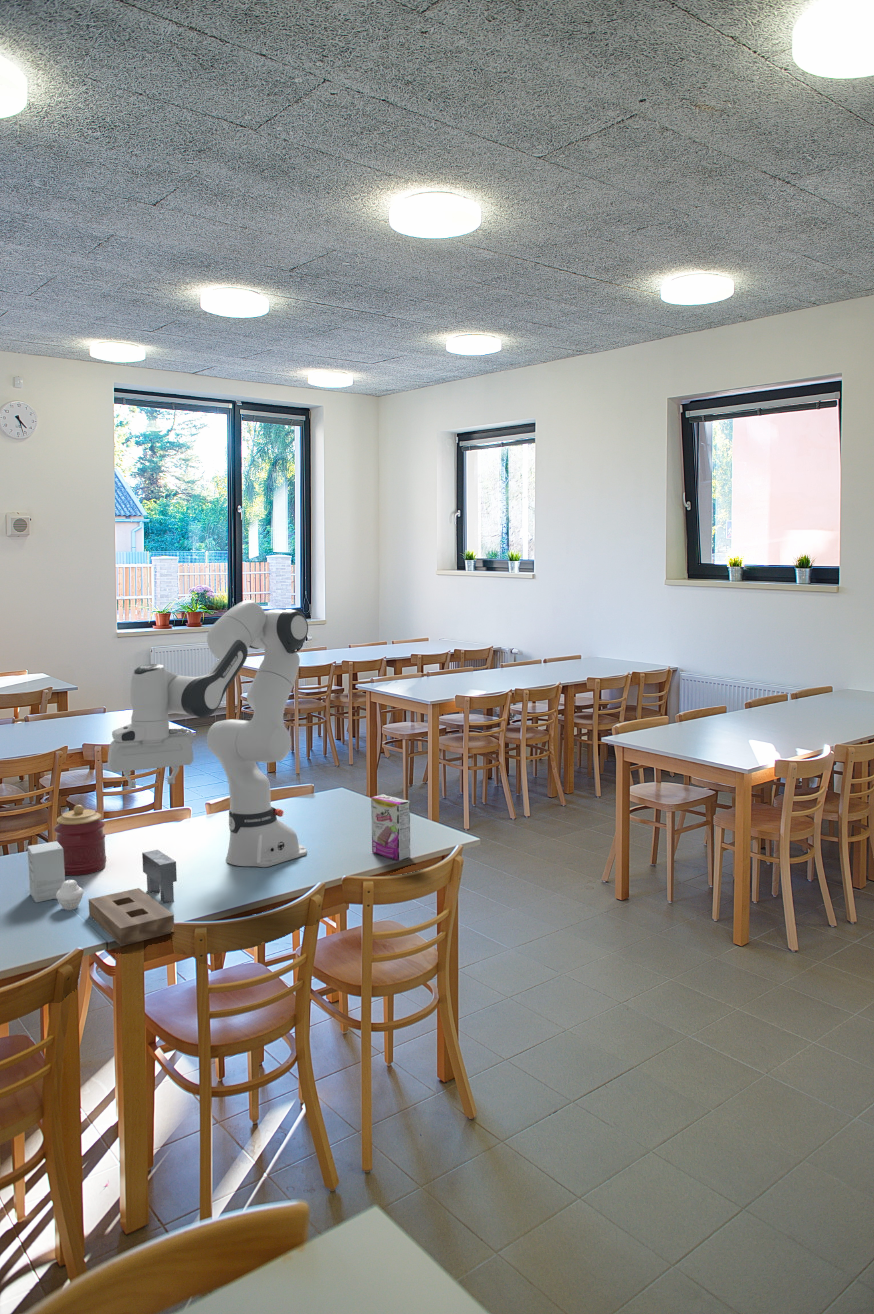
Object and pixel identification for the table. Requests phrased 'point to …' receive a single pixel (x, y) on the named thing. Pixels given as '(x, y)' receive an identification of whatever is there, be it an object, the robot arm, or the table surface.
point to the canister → (81, 841)
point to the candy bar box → (390, 827)
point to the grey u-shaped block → (160, 874)
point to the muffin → (69, 895)
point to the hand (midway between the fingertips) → (151, 785)
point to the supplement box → (45, 870)
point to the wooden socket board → (131, 916)
